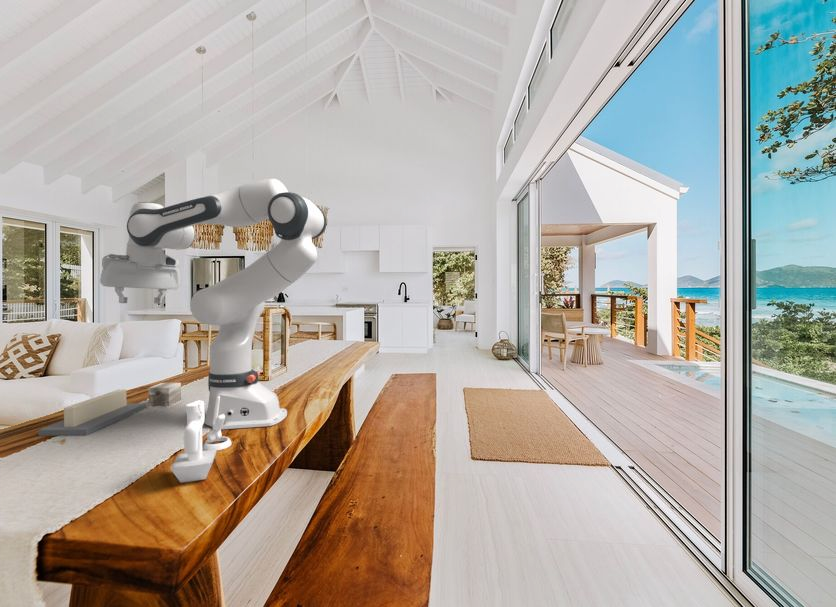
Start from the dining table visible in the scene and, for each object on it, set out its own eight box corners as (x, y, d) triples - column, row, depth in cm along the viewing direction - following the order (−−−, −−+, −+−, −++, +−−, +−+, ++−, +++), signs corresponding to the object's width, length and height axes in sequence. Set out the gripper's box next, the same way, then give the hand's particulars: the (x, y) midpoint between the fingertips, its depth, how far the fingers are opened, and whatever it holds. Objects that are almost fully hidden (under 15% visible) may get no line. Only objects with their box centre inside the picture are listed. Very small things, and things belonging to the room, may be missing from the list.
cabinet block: (181, 400, 135) (180, 382, 134) (167, 407, 127) (167, 388, 127) (161, 400, 134) (161, 382, 134) (147, 407, 127) (146, 388, 126)
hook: (224, 437, 89) (206, 422, 90) (212, 465, 93) (194, 450, 94) (245, 423, 95) (227, 409, 96) (232, 450, 99) (215, 435, 100)
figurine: (168, 490, 74) (167, 411, 74) (180, 468, 83) (179, 398, 82) (211, 483, 76) (210, 407, 76) (218, 463, 85) (217, 395, 85)
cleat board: (146, 407, 126) (146, 387, 126) (86, 435, 102) (85, 410, 102) (107, 408, 125) (107, 388, 125) (38, 435, 101) (37, 410, 101)
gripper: (108, 253, 107) (104, 304, 107) (184, 261, 125) (180, 304, 125) (97, 252, 110) (94, 301, 110) (173, 260, 128) (170, 302, 128)
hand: (140, 303), depth 118 cm, fingers open, 8 cm apart
